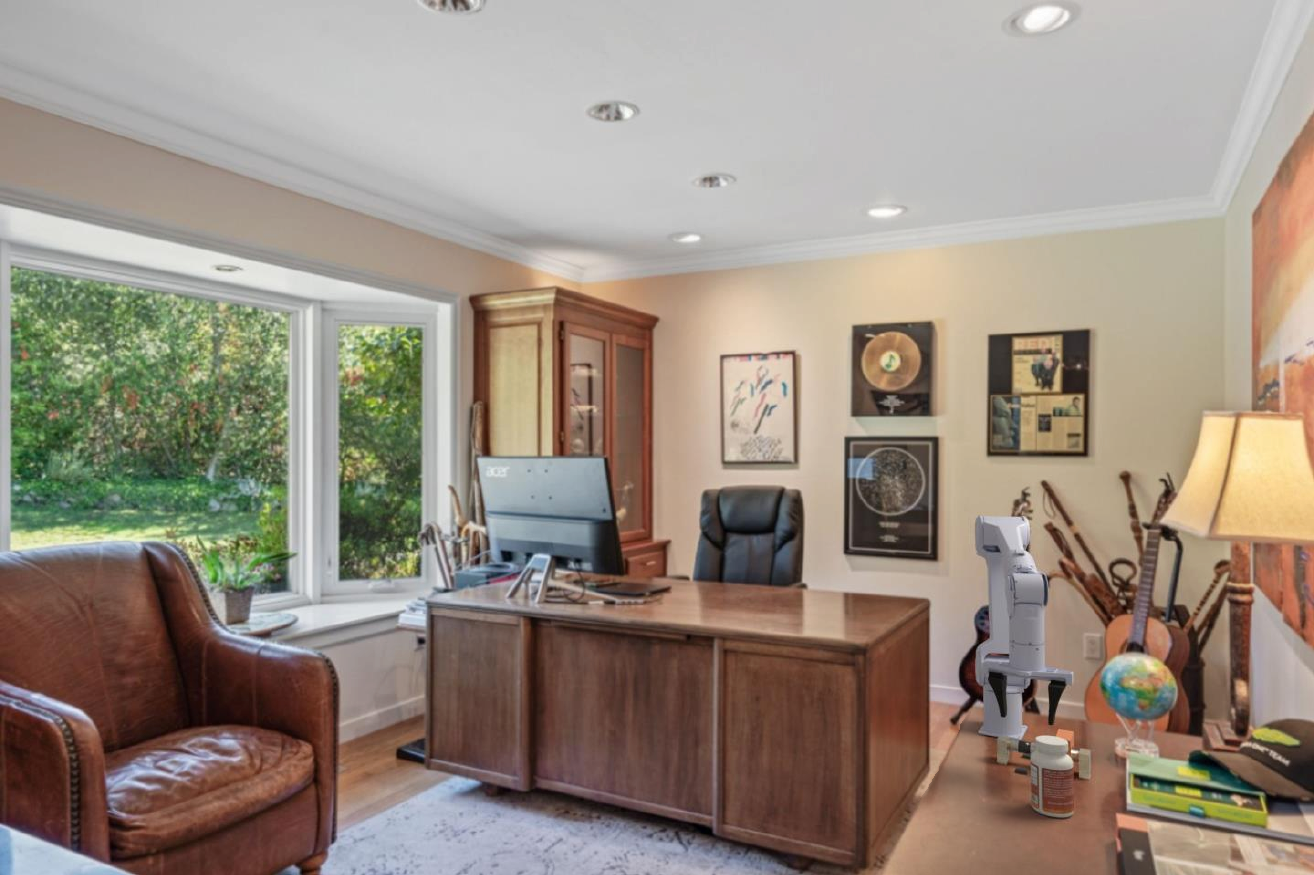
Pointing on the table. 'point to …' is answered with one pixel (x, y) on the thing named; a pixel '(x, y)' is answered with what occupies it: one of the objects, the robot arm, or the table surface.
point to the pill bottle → (1052, 777)
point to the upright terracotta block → (1069, 738)
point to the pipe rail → (1028, 748)
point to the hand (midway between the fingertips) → (1027, 719)
